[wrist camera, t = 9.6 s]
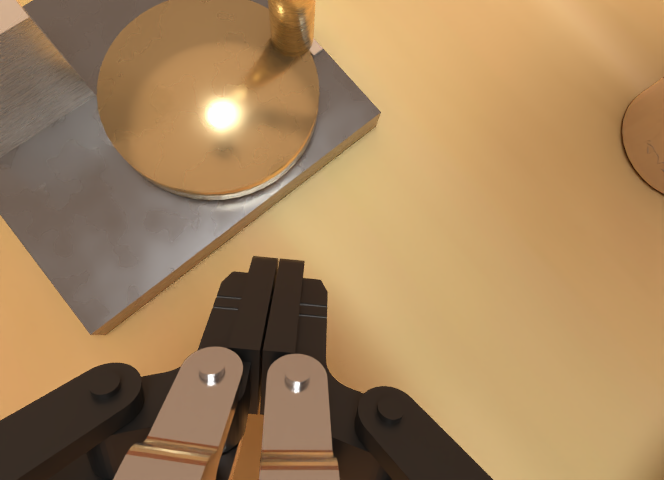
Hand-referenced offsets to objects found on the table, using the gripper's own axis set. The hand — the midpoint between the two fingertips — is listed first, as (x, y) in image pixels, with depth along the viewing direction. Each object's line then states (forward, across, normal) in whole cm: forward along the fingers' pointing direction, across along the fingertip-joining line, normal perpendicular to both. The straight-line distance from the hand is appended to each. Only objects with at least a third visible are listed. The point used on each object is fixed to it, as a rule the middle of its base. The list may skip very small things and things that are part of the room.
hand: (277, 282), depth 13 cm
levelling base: (+19, +10, +2) cm, 22 cm away
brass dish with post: (+18, +6, 0) cm, 19 cm away
